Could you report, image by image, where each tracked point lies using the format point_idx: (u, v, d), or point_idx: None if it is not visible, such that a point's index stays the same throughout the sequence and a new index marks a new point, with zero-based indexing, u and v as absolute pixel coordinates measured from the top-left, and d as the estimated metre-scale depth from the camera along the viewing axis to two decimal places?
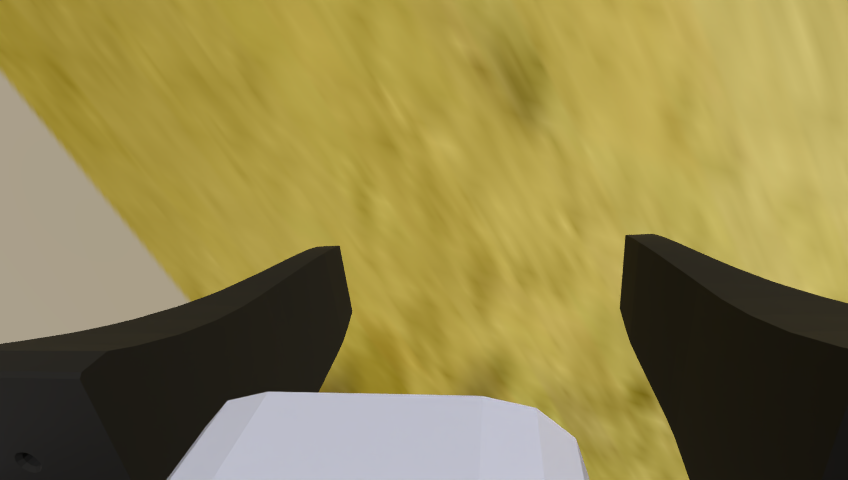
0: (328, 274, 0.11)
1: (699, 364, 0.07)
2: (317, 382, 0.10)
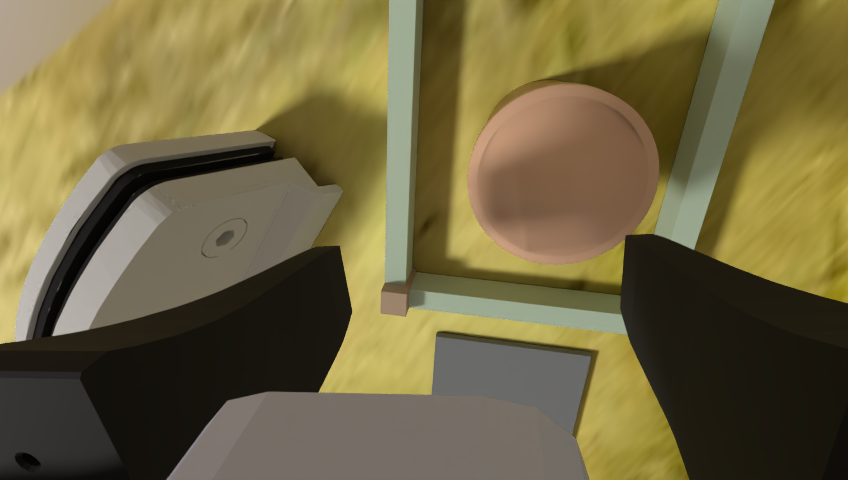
0: (328, 274, 0.11)
1: (699, 364, 0.07)
2: (317, 382, 0.10)
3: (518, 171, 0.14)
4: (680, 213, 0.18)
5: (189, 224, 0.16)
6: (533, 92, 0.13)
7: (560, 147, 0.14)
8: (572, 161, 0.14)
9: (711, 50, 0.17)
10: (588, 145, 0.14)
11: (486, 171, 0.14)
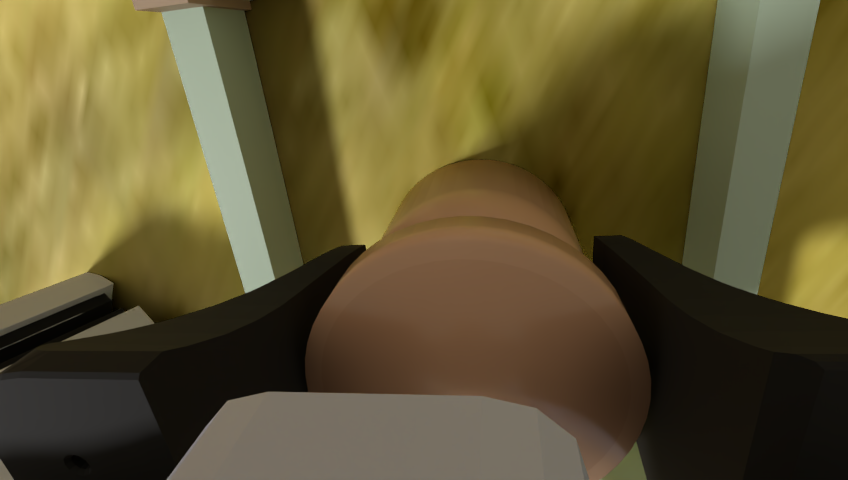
0: None
1: (652, 364, 0.07)
2: None
3: (391, 384, 0.08)
4: None
5: None
6: (380, 258, 0.07)
7: (454, 343, 0.07)
8: (482, 363, 0.07)
9: (716, 87, 0.10)
10: (503, 337, 0.07)
11: (337, 386, 0.08)
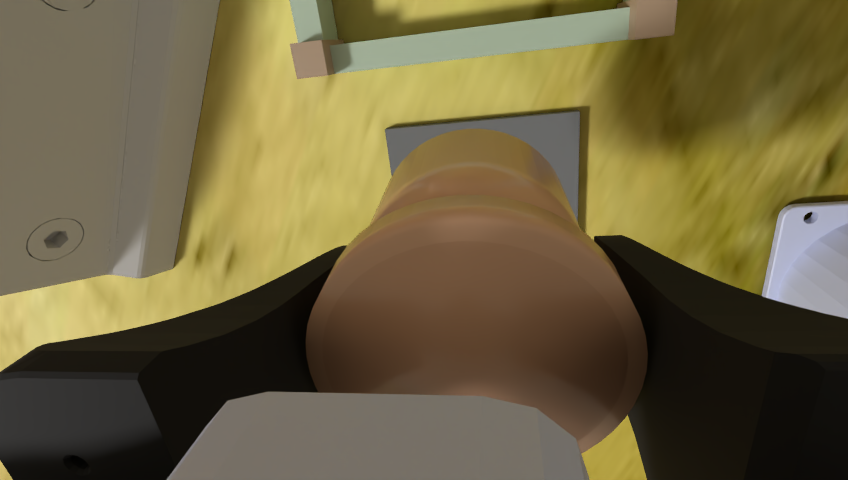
0: None
1: (652, 364, 0.07)
2: None
3: (392, 362, 0.08)
4: None
5: None
6: (379, 241, 0.07)
7: (455, 322, 0.07)
8: (482, 341, 0.07)
9: None
10: (504, 315, 0.07)
11: (339, 365, 0.08)
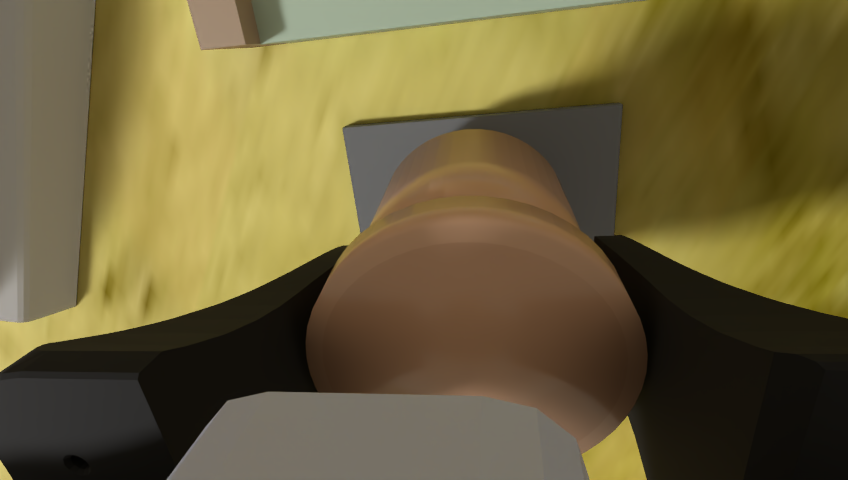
0: None
1: (652, 364, 0.07)
2: None
3: (393, 363, 0.08)
4: None
5: None
6: (379, 242, 0.07)
7: (455, 323, 0.07)
8: (482, 342, 0.08)
9: None
10: (504, 316, 0.07)
11: (339, 366, 0.08)
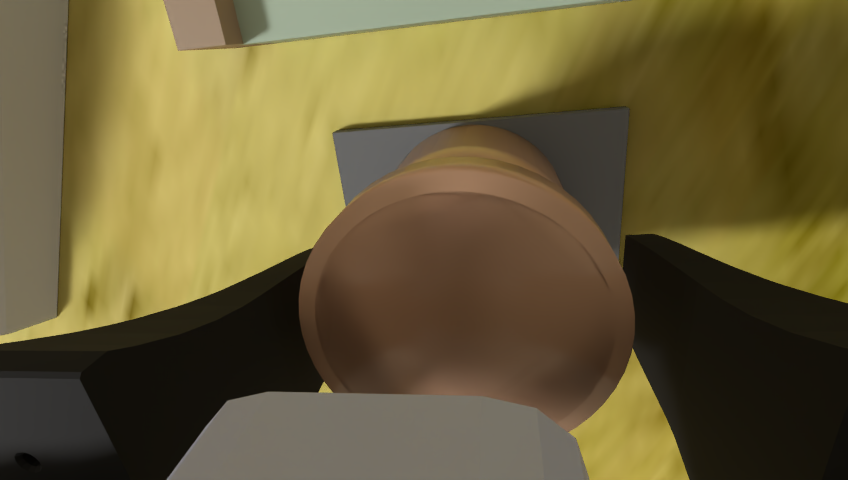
0: None
1: (699, 364, 0.07)
2: (317, 382, 0.10)
3: (382, 323, 0.08)
4: None
5: None
6: (371, 192, 0.07)
7: (443, 279, 0.08)
8: (470, 299, 0.08)
9: None
10: (491, 271, 0.07)
11: (330, 326, 0.08)
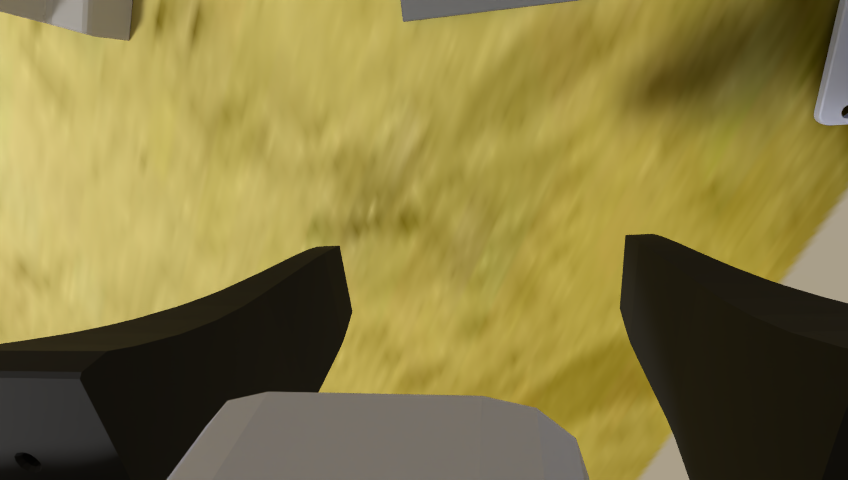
0: (328, 274, 0.11)
1: (699, 364, 0.07)
2: (317, 382, 0.10)
3: None
4: None
5: None
6: None
7: None
8: None
9: None
10: None
11: None
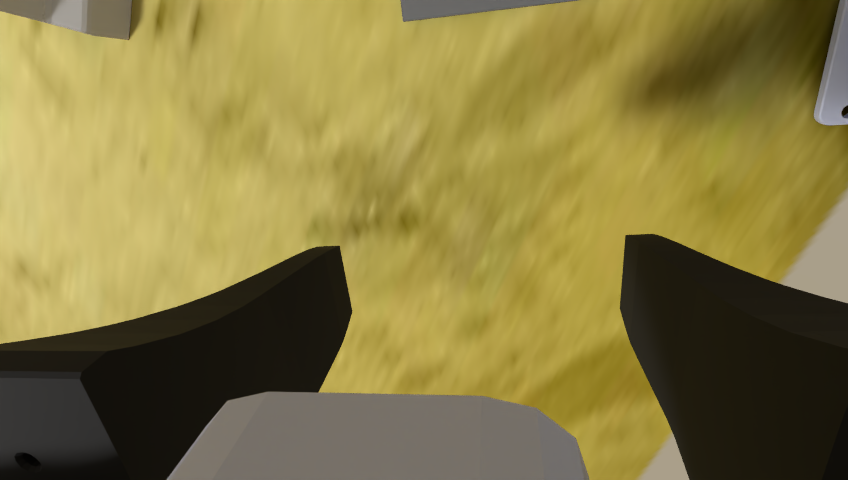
0: (328, 274, 0.11)
1: (699, 364, 0.07)
2: (317, 382, 0.10)
3: None
4: None
5: None
6: None
7: None
8: None
9: None
10: None
11: None
